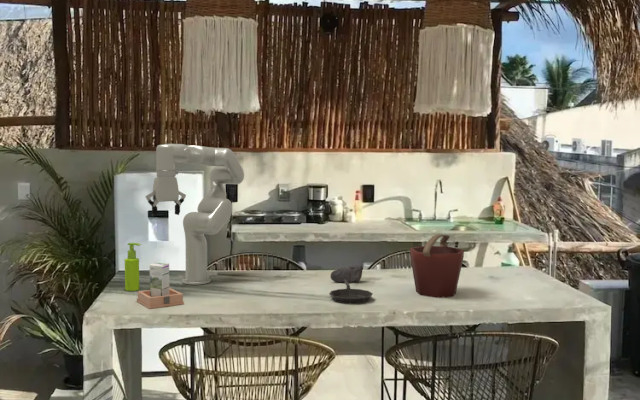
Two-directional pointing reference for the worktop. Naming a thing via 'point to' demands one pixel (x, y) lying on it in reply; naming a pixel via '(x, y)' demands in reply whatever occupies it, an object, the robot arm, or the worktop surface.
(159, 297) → the pink square tray
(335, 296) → the frying pan
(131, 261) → the soap dispenser
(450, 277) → the bucket
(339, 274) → the perforated stone tool
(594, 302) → the worktop surface
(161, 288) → the syrup box
